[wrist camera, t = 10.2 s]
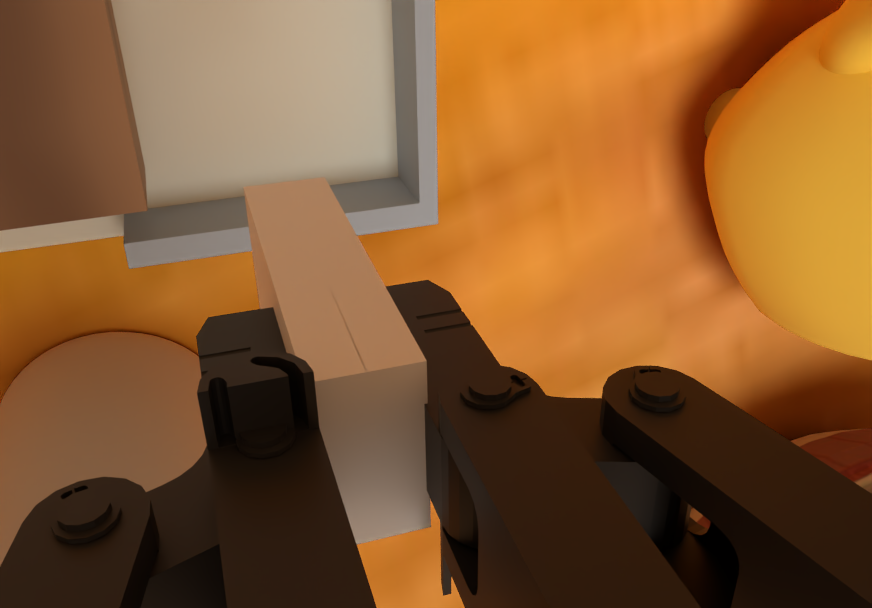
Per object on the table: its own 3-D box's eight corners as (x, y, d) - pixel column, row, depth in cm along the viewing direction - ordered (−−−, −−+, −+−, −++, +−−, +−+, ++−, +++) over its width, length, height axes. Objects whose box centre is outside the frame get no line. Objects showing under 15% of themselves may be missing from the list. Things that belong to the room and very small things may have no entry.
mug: (-55, 389, 30) (-135, 635, 20) (172, 291, 31) (191, 485, 21) (114, 592, 36) (109, 846, 27) (296, 506, 37) (351, 725, 28)
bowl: (954, 510, 54) (1103, 631, 46) (672, 714, 55) (768, 869, 47) (874, 277, 42) (1059, 385, 33) (509, 547, 43) (601, 718, 34)
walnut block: (-71, 195, 24) (-99, 243, 21) (-147, -27, 21) (-191, -5, 18) (145, 168, 26) (147, 210, 23) (102, -41, 23) (98, -24, 20)
